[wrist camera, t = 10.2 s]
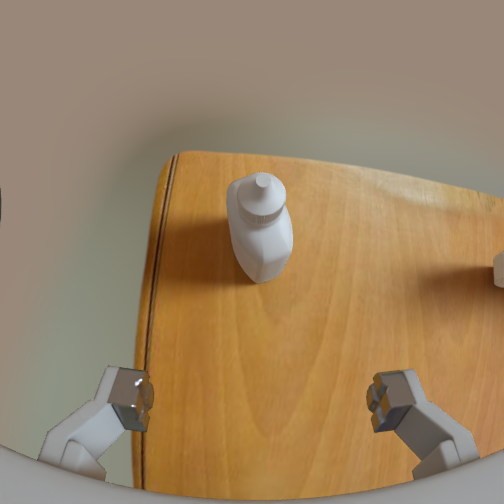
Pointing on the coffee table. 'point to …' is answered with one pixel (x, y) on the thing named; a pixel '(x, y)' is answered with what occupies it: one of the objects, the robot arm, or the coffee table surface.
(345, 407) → the coffee table surface
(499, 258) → the white double disc plate
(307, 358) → the coffee table surface
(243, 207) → the eye dropper bottle
